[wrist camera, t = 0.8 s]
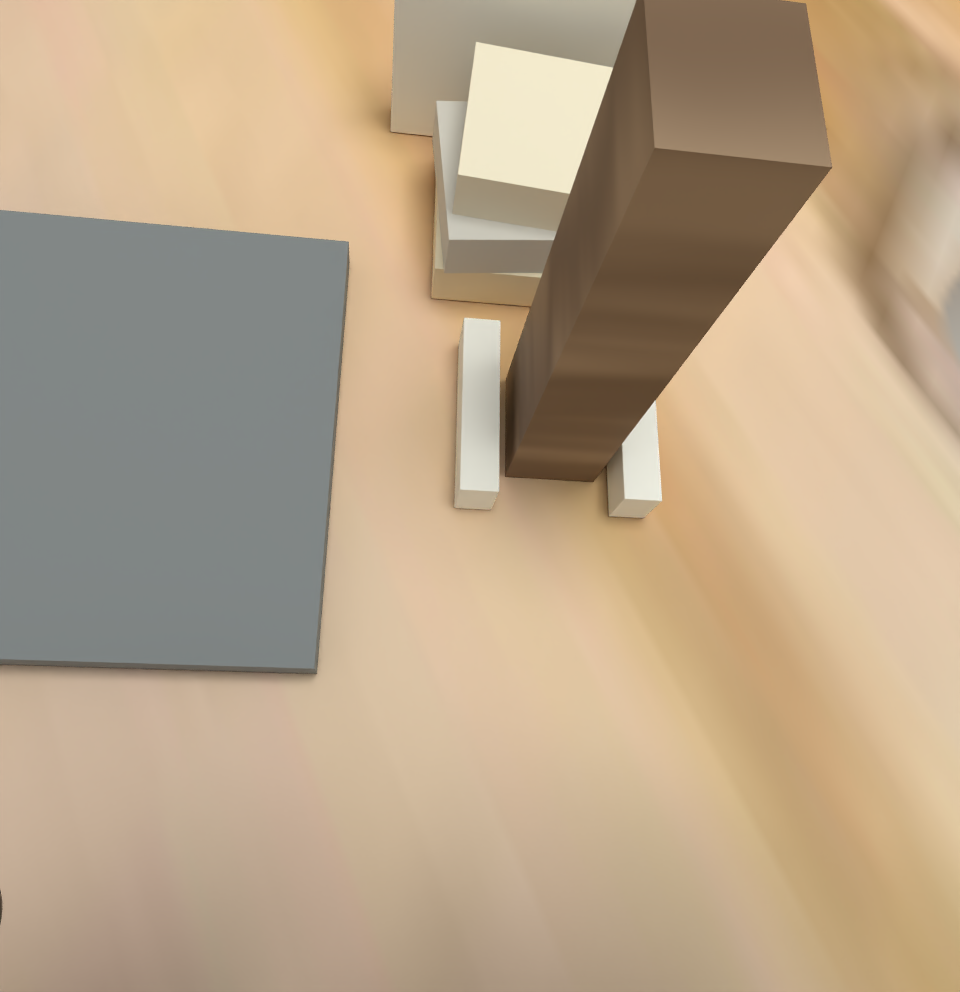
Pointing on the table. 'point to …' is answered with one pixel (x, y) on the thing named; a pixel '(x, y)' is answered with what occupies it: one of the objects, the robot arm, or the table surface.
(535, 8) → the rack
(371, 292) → the table surface
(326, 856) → the table surface
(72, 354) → the slate mat
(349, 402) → the table surface
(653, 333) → the walnut block
